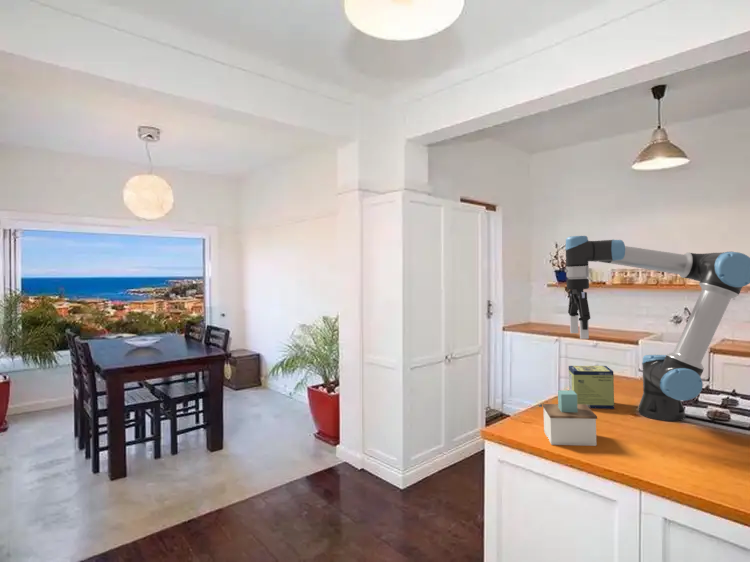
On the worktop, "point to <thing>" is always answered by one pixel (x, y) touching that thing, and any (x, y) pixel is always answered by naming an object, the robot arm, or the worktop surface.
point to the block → (567, 401)
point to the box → (570, 430)
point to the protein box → (593, 386)
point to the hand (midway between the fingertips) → (579, 335)
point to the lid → (582, 413)
